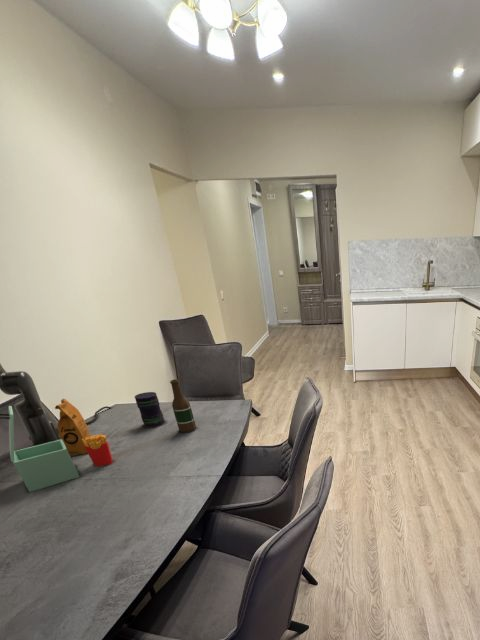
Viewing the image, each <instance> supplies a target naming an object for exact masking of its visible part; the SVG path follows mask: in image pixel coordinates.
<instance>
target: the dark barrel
mask: <svg viewBox="0 0 480 640" xmlns="http://www.w3.org/2000/svg"><path fill="white" fill-rule="evenodd" d="M134 400H135V402H136V407H137V408H138V410H139V412H140V417H141V421H142V423H143V426H144V427H145V428H156V427H159V426H162V425H164V424H165V423H166V422H165V417H164V414H163V411H162V409H161V407H160V401H159V397H158V395H157V392H155V391H148V392H147V391H145V392H142V393H137V394H136V395H134Z"/></svg>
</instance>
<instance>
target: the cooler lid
mask: <svg viewBox="0 0 480 640" xmlns="http://www.w3.org/2000/svg"><path fill="white" fill-rule="evenodd" d="M0 420H8V441H9V442H8V443H9V444H8V445H9V446H8V447H9V457H10V462H12V463H13V462H14V451H15V431H14V429H15V428H14V427H15V422H14V421H15V420H14V411H13V407H12V405H8V413H2V412H0Z"/></svg>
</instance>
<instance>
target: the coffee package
mask: <svg viewBox="0 0 480 640" xmlns="http://www.w3.org/2000/svg"><path fill="white" fill-rule="evenodd" d="M54 409H55V410H59V419H58V422H57V428H58V433H59V435H58V436H59V438H60V440H61V439H62V440H63V442H64V444H65V447H66V449H67V451H68V453H69V455H70V457H72V456H79V455H85V454H88V453H87V451H86V449H85V448H84V446H85V444H84V443H83V441H82V439H84V440H85V438H86V437H90V436H92V435H91V433H90V430H89V427H88V424H87V425H86V421H85V419H84V417H83V416H82V414H81V412H80V410H79V409H78V408H77V407H76V406H75V405H73V404H72V403H71V402H69V401H68V400H67V399H66V398H62V399H61V401H60V403H59V404H57V405H55V407H54Z"/></svg>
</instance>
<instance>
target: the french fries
mask: <svg viewBox="0 0 480 640" xmlns="http://www.w3.org/2000/svg"><path fill="white" fill-rule="evenodd" d="M82 441H83V443H84V444H85V446H84V448H85V449H86V451H87V453H86V454H87V455H88V457H89V458H90V460H91V462H92V463H93V465H94V467H102V466H106V465H111V464H113V462H114V459H113V457H112V452H111V449H110V446H109V441H108V440H107V435H106V434H94V435H91V436H90V437H86V438H85V440H84V439H82Z"/></svg>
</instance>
